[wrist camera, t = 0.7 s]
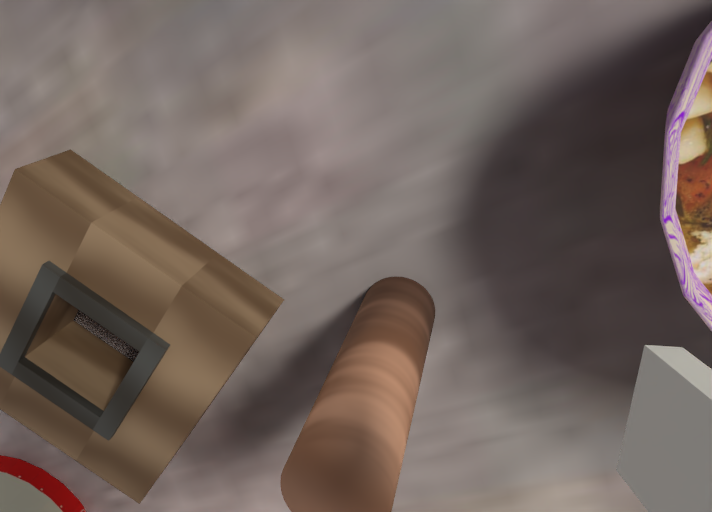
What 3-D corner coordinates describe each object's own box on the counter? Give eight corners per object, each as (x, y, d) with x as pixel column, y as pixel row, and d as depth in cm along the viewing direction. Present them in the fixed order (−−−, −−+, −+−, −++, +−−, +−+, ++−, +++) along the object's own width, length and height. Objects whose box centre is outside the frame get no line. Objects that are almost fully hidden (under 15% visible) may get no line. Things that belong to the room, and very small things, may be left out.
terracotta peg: (389, 262, 39) (318, 424, 24) (450, 305, 39) (415, 491, 24) (349, 314, 40) (260, 494, 26) (407, 355, 41) (351, 556, 26)
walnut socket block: (70, 149, 40) (7, 171, 35) (284, 299, 41) (252, 342, 36) (-11, 328, 47) (-74, 369, 42) (174, 455, 48) (134, 510, 42)
